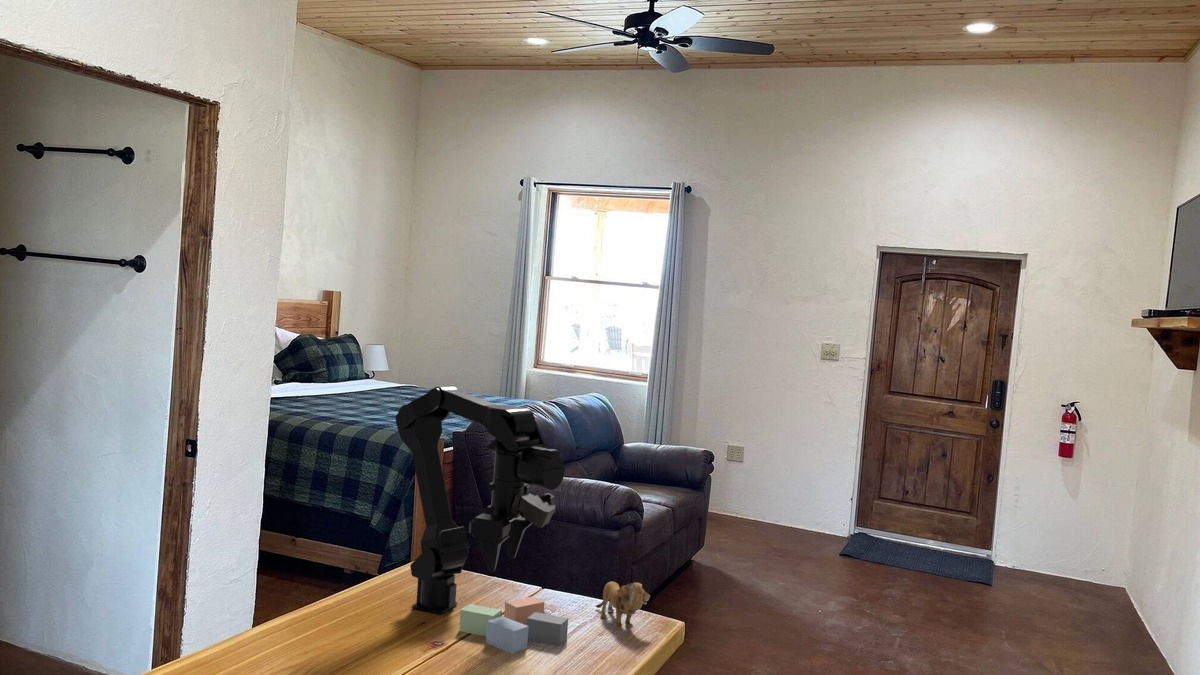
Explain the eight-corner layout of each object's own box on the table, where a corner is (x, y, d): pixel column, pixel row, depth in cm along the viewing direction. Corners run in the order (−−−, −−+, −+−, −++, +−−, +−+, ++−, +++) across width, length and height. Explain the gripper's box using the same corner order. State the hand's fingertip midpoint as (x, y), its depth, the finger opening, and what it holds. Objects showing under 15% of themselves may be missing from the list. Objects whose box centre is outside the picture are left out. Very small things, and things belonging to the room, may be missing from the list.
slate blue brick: (485, 643, 161) (487, 620, 160) (500, 638, 163) (502, 616, 163) (512, 654, 157) (513, 631, 156) (527, 649, 159) (528, 626, 159)
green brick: (459, 631, 165) (460, 609, 165) (468, 625, 169) (469, 603, 169) (491, 638, 163) (493, 615, 163) (500, 631, 167) (501, 609, 167)
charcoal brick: (525, 640, 163) (527, 618, 163) (533, 634, 167) (535, 612, 167) (559, 647, 161) (561, 624, 161) (566, 640, 165) (568, 618, 165)
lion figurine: (651, 632, 171) (654, 584, 171) (627, 636, 168) (631, 587, 168) (606, 607, 184) (609, 562, 183) (583, 611, 181) (587, 565, 180)
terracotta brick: (515, 629, 169) (516, 607, 168) (503, 623, 171) (505, 601, 171) (543, 623, 173) (544, 601, 173) (531, 617, 175) (532, 596, 175)
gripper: (532, 495, 154) (524, 587, 155) (569, 476, 172) (561, 558, 173) (471, 485, 157) (463, 575, 158) (513, 467, 175) (506, 548, 176)
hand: (502, 564), depth 166 cm, fingers open, 9 cm apart
